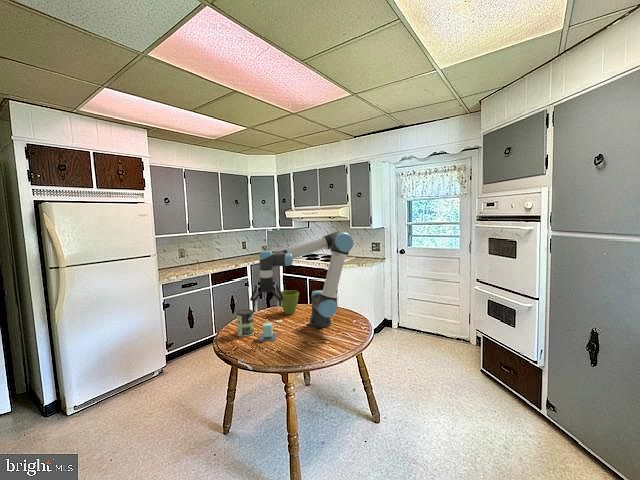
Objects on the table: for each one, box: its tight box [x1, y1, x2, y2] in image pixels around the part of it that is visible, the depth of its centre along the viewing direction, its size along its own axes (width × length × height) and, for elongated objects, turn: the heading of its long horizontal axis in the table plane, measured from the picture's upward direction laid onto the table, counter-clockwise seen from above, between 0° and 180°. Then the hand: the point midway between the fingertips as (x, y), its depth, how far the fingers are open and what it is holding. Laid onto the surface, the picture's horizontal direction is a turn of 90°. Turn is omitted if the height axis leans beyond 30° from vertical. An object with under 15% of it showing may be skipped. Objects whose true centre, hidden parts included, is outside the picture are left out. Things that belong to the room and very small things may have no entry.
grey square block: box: [257, 332, 278, 342], centre depth 182 cm, size 10×10×8 cm
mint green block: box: [262, 322, 274, 337], centre depth 181 cm, size 5×5×7 cm
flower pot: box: [279, 289, 300, 315], centre depth 227 cm, size 15×15×16 cm
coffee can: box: [235, 308, 255, 337], centre depth 188 cm, size 10×10×14 cm
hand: (267, 311), depth 181 cm, fingers open, 13 cm apart
